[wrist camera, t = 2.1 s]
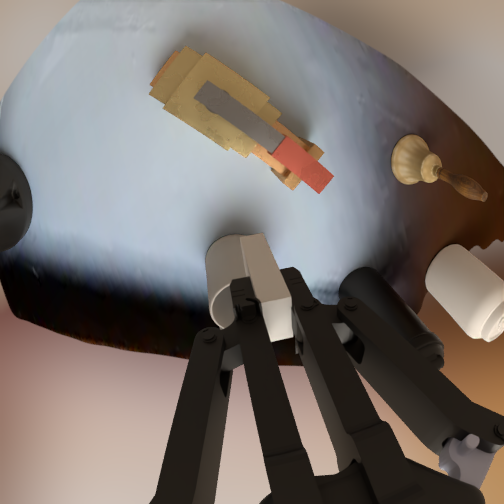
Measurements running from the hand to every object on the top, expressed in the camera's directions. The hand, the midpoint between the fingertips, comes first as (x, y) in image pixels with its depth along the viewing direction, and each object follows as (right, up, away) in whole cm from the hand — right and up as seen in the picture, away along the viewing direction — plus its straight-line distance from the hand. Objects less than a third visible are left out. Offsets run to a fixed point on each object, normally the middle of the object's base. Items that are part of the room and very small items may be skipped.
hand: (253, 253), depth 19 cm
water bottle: (+19, -6, +32) cm, 37 cm away
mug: (-3, -2, +25) cm, 25 cm away
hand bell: (+25, +15, +21) cm, 36 cm away
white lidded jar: (+41, -3, +34) cm, 54 cm away
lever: (+1, +12, +9) cm, 15 cm away
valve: (-2, +17, +14) cm, 22 cm away
